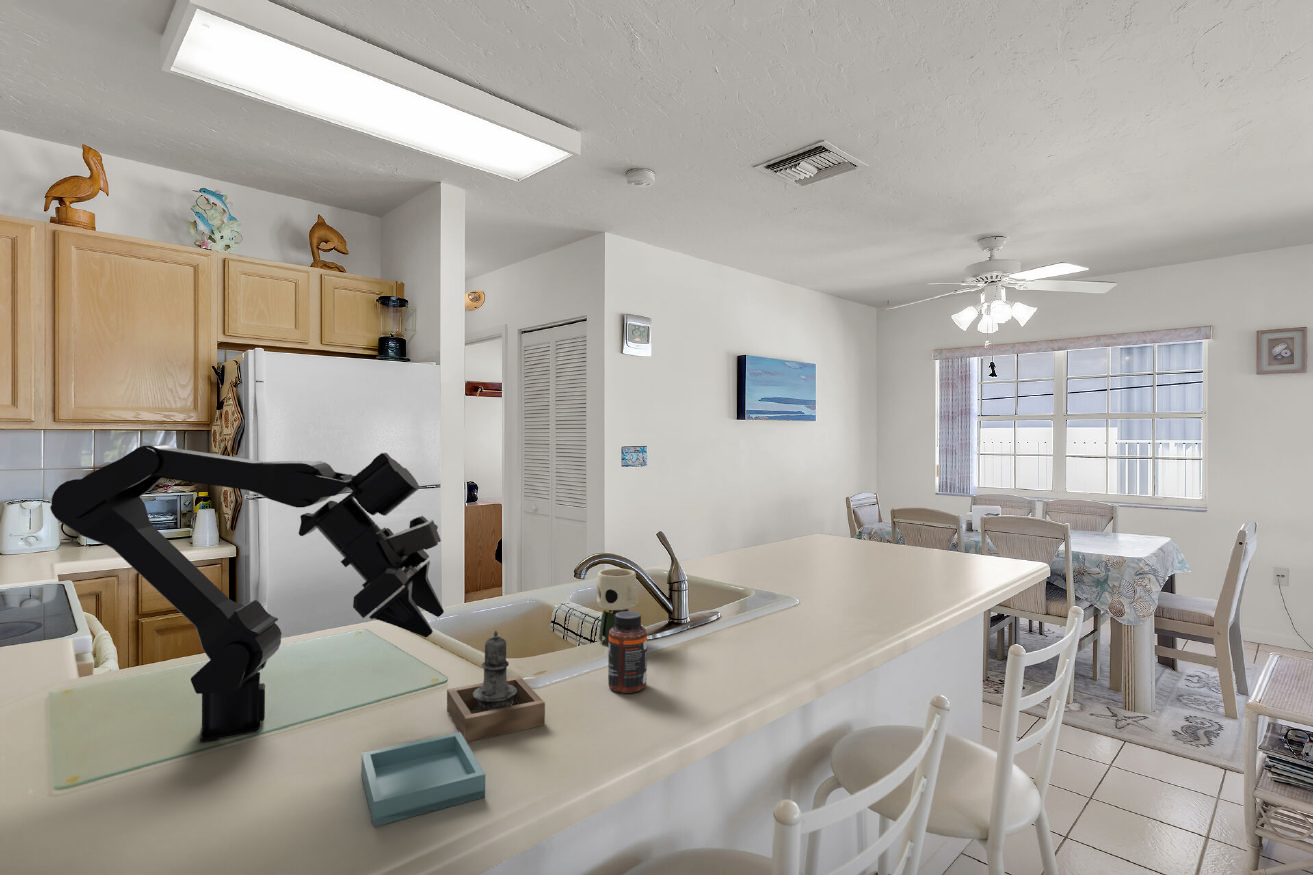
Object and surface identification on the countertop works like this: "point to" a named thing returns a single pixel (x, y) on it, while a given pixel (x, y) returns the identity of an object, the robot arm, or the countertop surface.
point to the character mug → (615, 596)
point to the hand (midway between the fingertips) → (435, 624)
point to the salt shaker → (494, 678)
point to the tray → (420, 777)
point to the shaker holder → (495, 712)
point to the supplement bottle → (627, 653)
